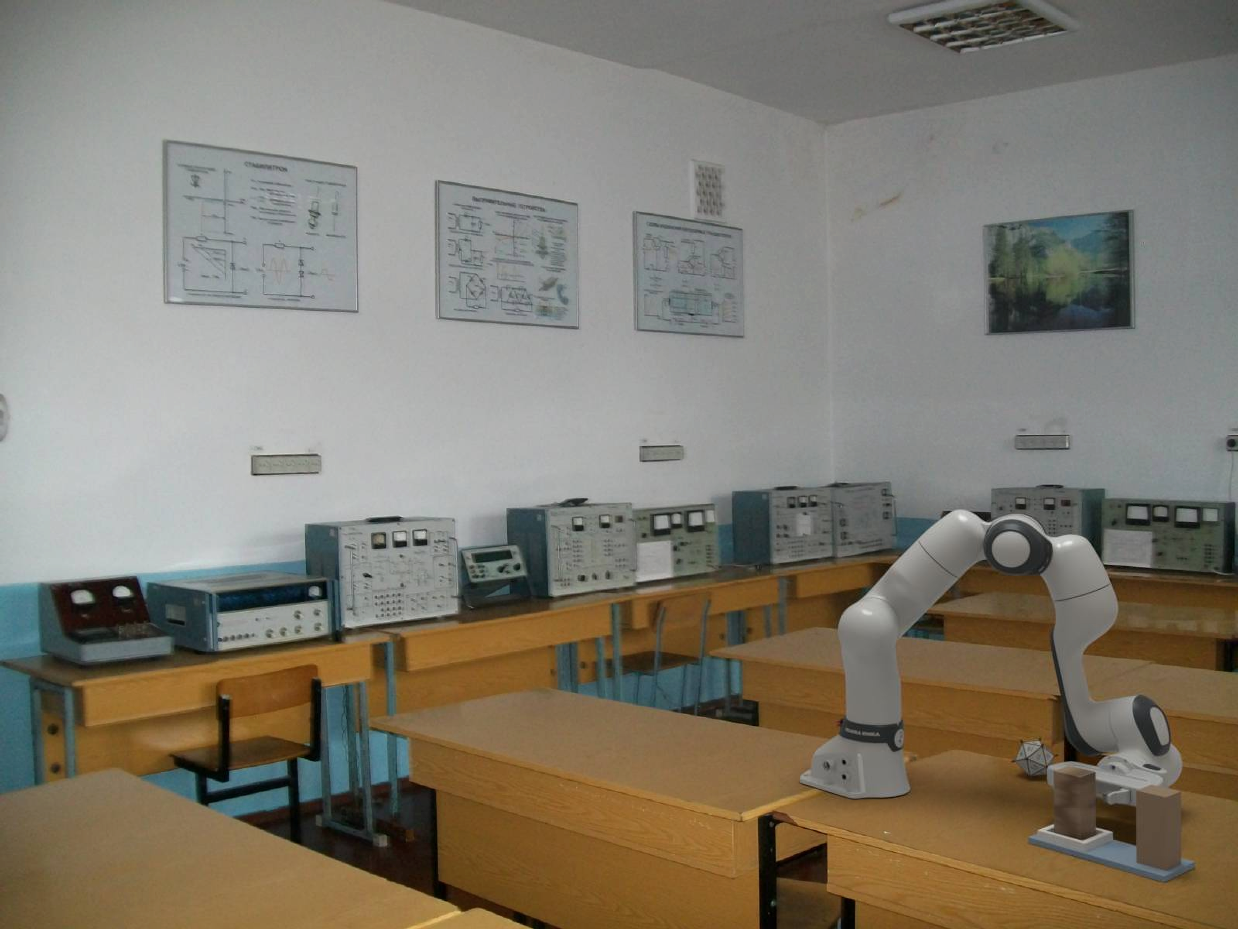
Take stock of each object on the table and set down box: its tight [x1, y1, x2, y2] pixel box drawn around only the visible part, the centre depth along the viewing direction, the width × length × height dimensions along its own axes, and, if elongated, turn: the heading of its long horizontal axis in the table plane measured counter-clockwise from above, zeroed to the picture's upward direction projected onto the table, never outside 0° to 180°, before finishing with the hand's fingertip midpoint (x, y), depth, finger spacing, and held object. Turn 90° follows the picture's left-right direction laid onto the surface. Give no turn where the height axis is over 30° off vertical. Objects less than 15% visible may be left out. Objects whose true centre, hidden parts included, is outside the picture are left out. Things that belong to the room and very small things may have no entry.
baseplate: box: [1027, 785, 1196, 883], centre depth 204 cm, size 24×10×13 cm, turn 38°
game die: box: [1010, 736, 1060, 781], centre depth 250 cm, size 9×8×10 cm
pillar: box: [1053, 766, 1097, 841], centre depth 209 cm, size 5×5×12 cm
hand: (1081, 793), depth 209 cm, fingers open, 8 cm apart
